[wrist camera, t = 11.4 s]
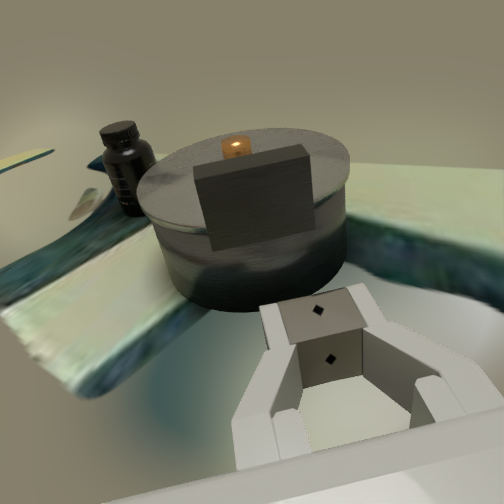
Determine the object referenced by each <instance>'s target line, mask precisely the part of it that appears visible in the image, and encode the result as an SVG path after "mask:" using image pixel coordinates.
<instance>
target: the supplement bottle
mask: <svg viewBox="0 0 504 504" xmlns="http://www.w3.org/2000/svg"><path fill="white" fill-rule="evenodd" d="M99 133H100V135H101V138H102V141H103V144H104V146H106V147H107V149H106V150H105V151H104V153H103V156H102V161H103V164H104V166H105V169H106V171H107V173H108V176H109V178H110V181H111V183H112V185H113V188H114V190H115V193H116V195H117V198H118V200H119V202H120V205H121V207H122V209H123V211H124V212H125V213H126V214H128V215H130V216H143V215H145V214H144V212H143V211H142V209H141V206H140V203H139V201H138V197H137V187H138V184H139V182H140V180H141V178H142V177H143V175H144V174H145V173H146V172H147V171H148V170H149V169H150V168H151V167H152V166H153V165H155V164H156V163H157V162H156V159H155V156H154V153H153V151H152V148H151V146H150V144H149V143H148V142H147V141H145V140H142V139H139V136H140V134H139V131H138V130H137V127H136V124H135V122H134V121H121V122H116V123H113V124H110V125H108V126H106V127H104V128H102V129H101V130H100V131H99Z"/></svg>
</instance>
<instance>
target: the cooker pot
mask: <svg viewBox="0 0 504 504" xmlns="http://www.w3.org/2000/svg"><path fill="white" fill-rule="evenodd" d="M314 213H315V226H316V230H312V231H307V232H303V233H298V234H294V235H289V236H285V237H280V238H275V239H271V240H266V241H262V242H257V243H252V244H248V245H243V246H239V247H234V248H230V249H225V250H220V251H216V252H213V251H212V248H211V244H210V240H209V236H208V234H204V233H190V232H182V231H178V230H173V229H169V228H167V227H164V226H161V225H159V224H157V223H155V222H154V221H152V220H151V221H152V224H153V227H154V230H155V233H156V236H157V238H158V241H159V244H160V247H161V250H162V253H163V255H164V258H165V261H166V264H167V267H168V270H169V273H170V275H171V278H172V281H173V283H174V285H175V287H176V288H177V290H178V291H179V292H180V293H181V294H182V295H183V296H184V297H186V298H187V299H188V300H190V301H192V302H194V303H196V304H198V305H200V306H203V307H206V308H209V309H213V310H218V311H224V312H243V313H245V312H258V311H260V309H259V306H263V305H268V304H273V303H277V302H281V301H286V300H291V299H296V298H301V297H306V296H310V295H312V294H313V293H315V292H316V291H318V290H320V289H321V288H322V287H324V286H325V285H326V284H327V283H329V281H331V279H333V277H334V276H335V275H336V274H337V273H338V271H339V270H340V268H341V267H342V265H343V263H344V260H345V257H346V252H347V246H346V209H345V184H344V186H343V187H342V188H341V189H340V190H339V192H338V193H336V194H335V195H334V196H333V197H332V198H331V199H329V200H328V201H326V202H325V203H323V204H322V205H320V206H319V207H317V208H315V209H314Z"/></svg>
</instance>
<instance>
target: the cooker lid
mask: <svg viewBox="0 0 504 504" xmlns="http://www.w3.org/2000/svg"><path fill="white" fill-rule="evenodd" d="M349 173H350V158H349V153H348V150H347V149H346V148H345V146H344V145H343V144H342V143H340V142H339V141H338V140H336V139H334V138H333V137H330V136H328V135H325V134H322V133H319V132H315V131H310V130H303V129H293V128H291V129H290V128H268V129H256V130H247V131H240V132H235V133H230V134H225V135H221V136H217V137H214V138H210V139H207V140H204V141H200V142H197V143H195V144H192V145H190V146H187V147H185V148H183V149H180V150H178V151H176V152H174V153H172V154H170V155H168V156H167V157H165V158H164V159H162V160H160V161H159V162H158V163H156V164H155V165H153V166H152V167H151V168H150V169H149V170H148V171H147V172H146V173H145V174H144V175H143V177H142V178H141V180H140V182H139V184H138V187H137V197H138V201H139V203H140V206H141V209H142V211H143V212H144V214H145V215H146V216H147V217H148V218H149V219H150V220H152V221H154V222H155V223H157V224H159V225H161V226H164V227H167V228H169V229H173V230H178V231H182V232H190V233H204V234H208V236H209V240H210V244H211V248H212V251H213V252H216V251H220V250H225V249H230V248H234V247H239V246H243V245H248V244H252V243H257V242H262V241H266V240H271V239H275V238H280V237H285V236H289V235H294V234H298V233H303V232H307V231H312V230H316V226H315V213H314V209H315V208H317V207H319V206H320V205H322V204H323V203H325V202H326V201H328V200H329V199H331V198H332V197H333V196H334V195H335V194H336V193H338V192H339V190H340V189H341V188H342V187H343V186H344V184H345V183H346V181H347V179H348V176H349Z"/></svg>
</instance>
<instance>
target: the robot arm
mask: <svg viewBox="0 0 504 504" xmlns="http://www.w3.org/2000/svg"><path fill="white" fill-rule="evenodd" d="M259 309H260V314H261V319H262V324H263V329H264V334H265V339H266V344H267V349H268V350H267V351H264V353H263V356H262V358H261V360H260V362H259V364H258V366H257V368H256V370H255V372H254V375H253V377H252V379H251V381H250V383H249V385H248V387H247V389H246V391H245V393H244V395H243V397H242V400H241V402H240V404H239V406H238V408H237V410H236V412H235V414H234V416H233V419H232V421H231V424H232V433H233V441H234V449H235V459H236V467H237V471H233V472H229V473H225V474H221V475H216V476H213V477H208V478H204V479H200V480H196V481H192V482H187V483H184V484H180V485H175V486H171V487H167V488H163V489H159V490H155V491H151V492H146V493H142V494H138V495H134V496H130V497H126V498H122V499H118V500H114V501H109V502H105V503H101V504H504V398H503V396H502V395H501V394H500V392H499V391H498V390H497V389H496V387H495V386H494V385H493V383H492V382H491V381H490V380H489V378H488V377H487V376H486V374H485V373H484V372H483V371H482V369H481V368H480V367H479V366H478V364H477V363H475V362H473V361H471V360H469V359H467V358H465V357H463V356H461V355H459V354H457V353H455V352H453V351H451V350H449V349H447V348H445V347H443V346H441V345H439V344H438V343H436V342H433V341H431V340H430V339H428V338H426V337H424V336H422V335H420V334H418V333H416V332H414V331H412V330H410V329H408V328H406V327H404V326H402V325H400V324H398V323H396V322H394V321H392V322H388V321H387V319H386V318H385V316H384V314H383V313H382V311H381V310H380V308H379V306H378V305H377V303H376V302H375V300H374V299H373V297H372V295H371V294H370V292H369V290H368V289H367V287H366V285H365V284H363V283H359V284H355V285H351V286H347V287H345V288H339V289H335V290H331V291H327V292H323V293H318V294H314V295H310V296H306V297H301V298H296V299H291V300H286V301H281V302H277V303H273V304H268V305H263V306H259ZM359 375H363V377H364V378H366V379H367V380H368V381H370V382H371V383H372V384H374V385H375V386H376V387H377V388H378V389H380V390H381V391H382V392H384V393H385V394H386V395H388V396H389V397H390V398H391V399H393V400H394V401H395V402H396V403H398V404H399V405H400V406H402V407H403V408H404V409H405V410H407V411H408V412H409V413H410V414H411V419H410V427H409V429H407V430H403V431H399V432H395V433H390V434H386V435H382V436H378V437H374V438H370V439H366V440H362V441H358V442H354V443H350V444H345V445H341V446H337V447H333V448H328V449H324V450H320V451H316V452H312V449H311V446H310V442H309V439H308V436H307V432H306V429H305V426H304V422H303V420H302V416H301V412H300V411H298V407H299V403H300V400H301V397H302V393H303V389H305V388H308V387H312V386H316V385H319V384H323V383H327V382H331V381H335V380H340V379H345V378H349V377H355V376H359Z"/></svg>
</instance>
